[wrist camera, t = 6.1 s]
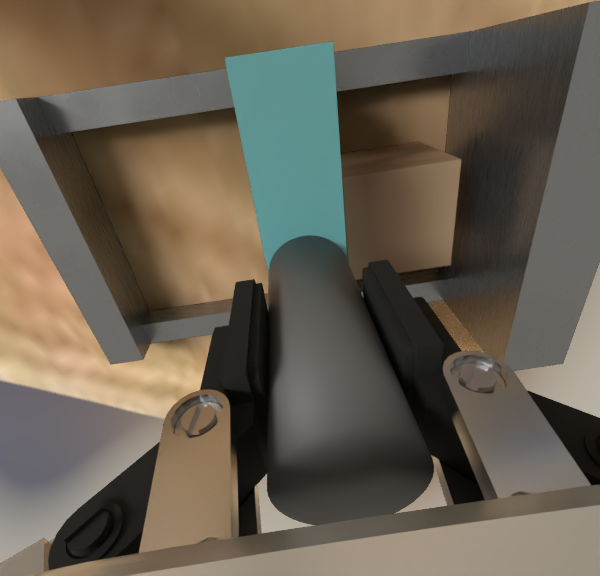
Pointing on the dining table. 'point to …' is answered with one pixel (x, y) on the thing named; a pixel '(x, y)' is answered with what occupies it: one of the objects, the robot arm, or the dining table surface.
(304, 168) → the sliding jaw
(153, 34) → the dining table surface
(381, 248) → the walnut block
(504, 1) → the dining table surface
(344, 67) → the vise bed
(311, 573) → the robot arm
